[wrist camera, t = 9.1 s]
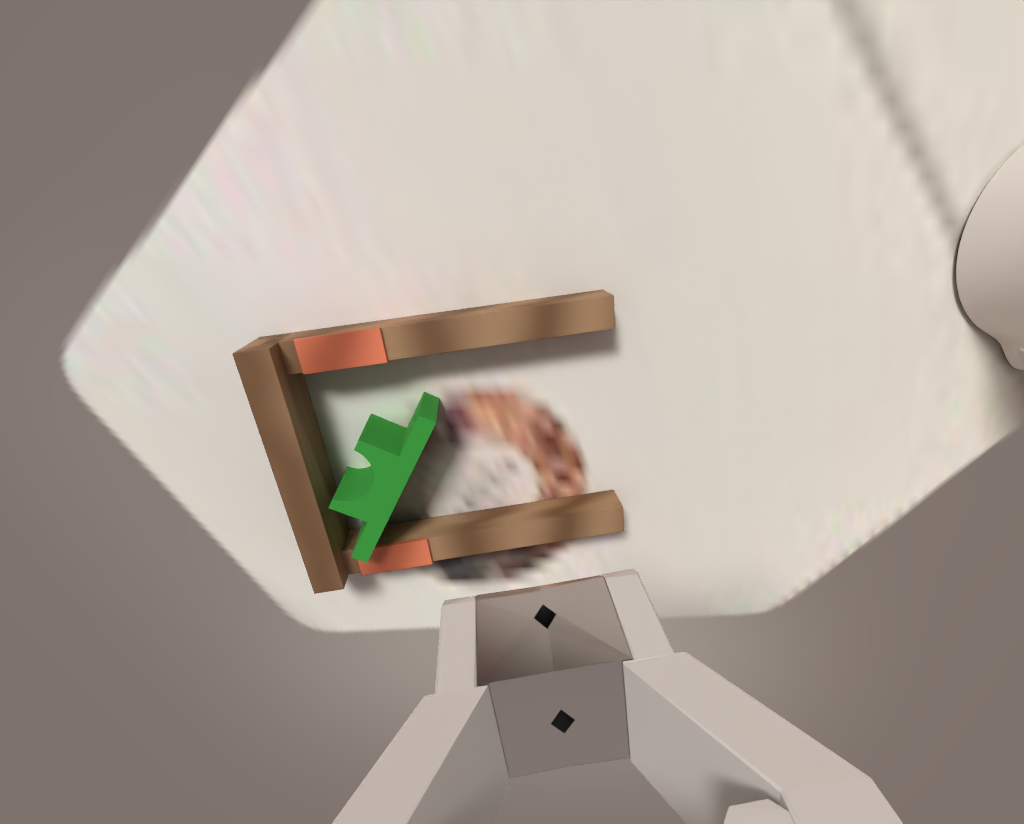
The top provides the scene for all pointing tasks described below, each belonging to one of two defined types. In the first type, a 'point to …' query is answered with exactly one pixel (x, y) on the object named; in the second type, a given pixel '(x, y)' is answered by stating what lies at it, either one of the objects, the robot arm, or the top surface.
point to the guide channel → (287, 357)
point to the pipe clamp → (383, 472)
